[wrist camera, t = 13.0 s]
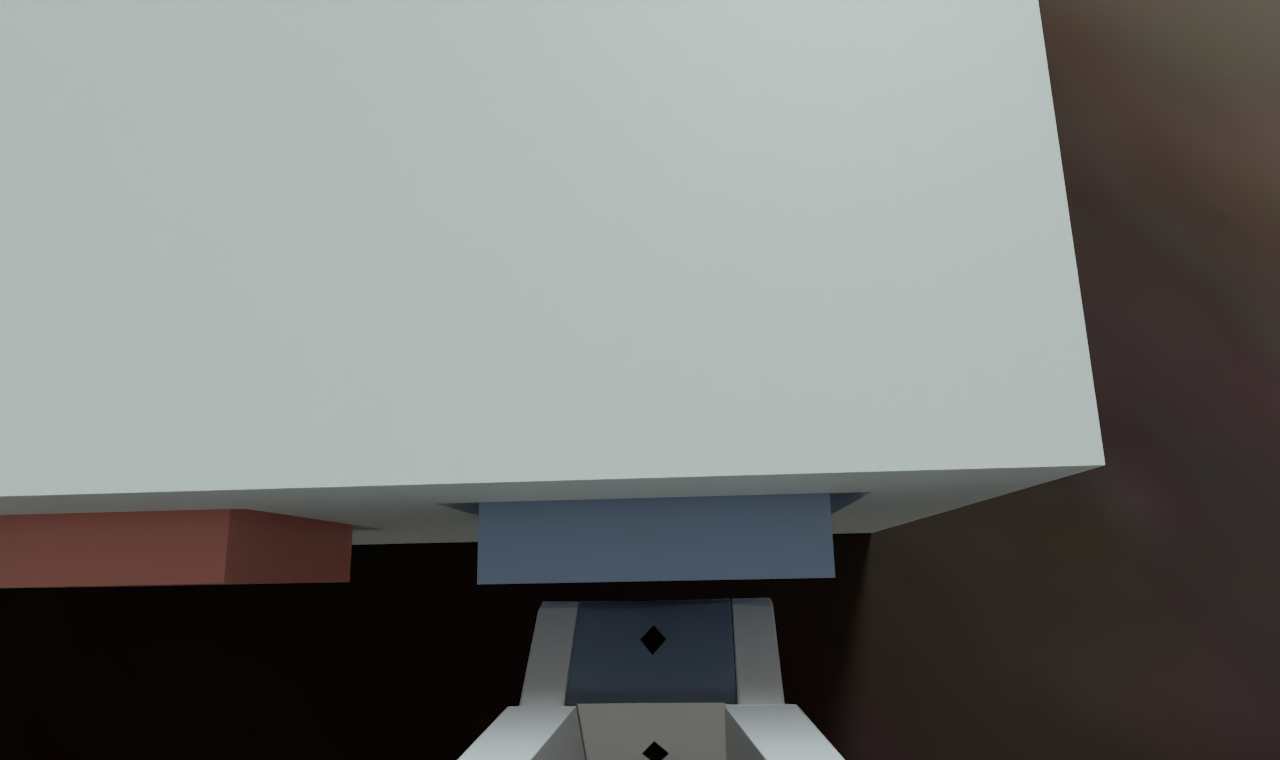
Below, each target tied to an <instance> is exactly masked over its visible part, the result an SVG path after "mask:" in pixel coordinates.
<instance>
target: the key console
mask: <svg viewBox="0 0 1280 760" xmlns="http://www.w3.org/2000/svg"><path fill="white" fill-rule="evenodd" d="M1104 465H1105V460H1104V453H1103V446H1102V439H1101V432H1100V425H1099V418H1098V411H1097V404H1096V397H1095V390H1094V383H1093V376H1092V370H1091V363H1090V356H1089V349H1088V342H1087V335H1086V328H1085V321H1084V314H1083V307H1082V300H1081V293H1080V287H1079V280H1078V273H1077V266H1076V259H1075V252H1074V245H1073V238H1072V231H1071V224H1070V217H1069V210H1068V203H1067V197H1066V190H1065V183H1064V176H1063V169H1062V162H1061V155H1060V148H1059V141H1058V134H1057V127H1056V120H1055V114H1054V107H1053V100H1052V93H1051V86H1050V79H1049V72H1048V65H1047V58H1046V51H1045V44H1044V37H1043V30H1042V24H1041V17H1040V10H1039V3H1038V0H0V515H23V514H60V513H98V512H136V511H173V510H211V509H250V510H257V511H264V512H271V513H277V514H284V515H291V516H298V517H304V518H311V519H318V520H325V521H331V522H338V523H345V524H352V525H353V532H352V545H362V544H406V543H450V542H478V523H479V502H512V501H550V500H588V499H625V498H663V497H701V496H738V495H776V494H814V493H830V507H831V521H832V534H845V533H873V532H876V531H880V530H883V529H887V528H890V527H894V526H897V525H901V524H904V523H907V522H911V521H914V520H918V519H921V518H925V517H928V516H932V515H935V514H938V513H942V512H945V511H949V510H952V509H956V508H959V507H963V506H966V505H970V504H973V503H976V502H980V501H983V500H987V499H990V498H994V497H997V496H1001V495H1004V494H1007V493H1011V492H1014V491H1018V490H1021V489H1025V488H1028V487H1032V486H1035V485H1039V484H1042V483H1045V482H1049V481H1052V480H1056V479H1059V478H1063V477H1066V476H1070V475H1073V474H1076V473H1080V472H1083V471H1087V470H1090V469H1094V468H1097V467H1101V466H1104Z"/></svg>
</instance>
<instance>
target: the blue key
mask: <svg viewBox="0 0 1280 760" xmlns="http://www.w3.org/2000/svg"><path fill="white" fill-rule="evenodd" d="M792 578H835V564H834V550H833V536H832V521H831V507H830V493H814V494H776V495H738V496H701V497H663V498H625V499H588V500H550V501H512V502H479V523H478V564H477V584H525V583H578V582H632V581H685V580H738V579H792Z"/></svg>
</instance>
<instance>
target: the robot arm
mask: <svg viewBox="0 0 1280 760" xmlns="http://www.w3.org/2000/svg"><path fill="white" fill-rule="evenodd" d="M457 760H845V759H844V758H843V757H842V756H841V755H840V753H839V752H838V751H837V750H836V749H835V748H834V747H833V745H832V744H831V743H830V742H829V741H828V740H827V739H826V737H825V736H824V735H823V734H822V733H821V732H820V731H819V729H818V728H817V727H816V726H815V725H814V724H813V723H812V721H811V720H810V719H809V718H808V717H807V716H806V715H805V713H804V712H803V711H802V710H801V709H800V708H799V707H798V705H797V704H785V703H784V695H783V686H782V677H781V669H780V660H779V652H778V643H777V634H776V626H775V617H774V609H773V603H772V601H771V599H770V598H734V599H732V601H731V599H730V598H728V599H692V600H657V601H543V603H542V605H541V606H540V608H539V610H538V614H537V619H536V624H535V629H534V634H533V639H532V644H531V649H530V654H529V659H528V664H527V669H526V674H525V679H524V684H523V689H522V694H521V699H520V704H519V706H508V707H507V708H506V709H505V710H504V711H503V712H502V713H501V714H500V715H499V716H498V717H497V718H496V719H495V720H494V721H493V723H492V724H491V725H490V726H489V727H488V728H487V729H486V730H485V731H484V732H483V733H482V734H481V735H480V736H479V737H478V738H477V739H476V740H475V741H474V742H473V744H472V745H471V746H470V747H469V748H468V749H467V750H466V751H465V752H464V753H463V754H462V755H461V756H460V757H459V758H458V759H457Z"/></svg>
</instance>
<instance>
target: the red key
mask: <svg viewBox="0 0 1280 760" xmlns="http://www.w3.org/2000/svg"><path fill="white" fill-rule="evenodd" d="M352 532H353V525H352V524H345V523H338V522H331V521H325V520H318V519H311V518H304V517H298V516H291V515H284V514H277V513H271V512H264V511H257V510H250V509H211V510H173V511H136V512H98V513H60V514H23V515H0V588H57V587H123V586H175V585H227V584H279V583H331V582H350V567H351V550H352Z"/></svg>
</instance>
